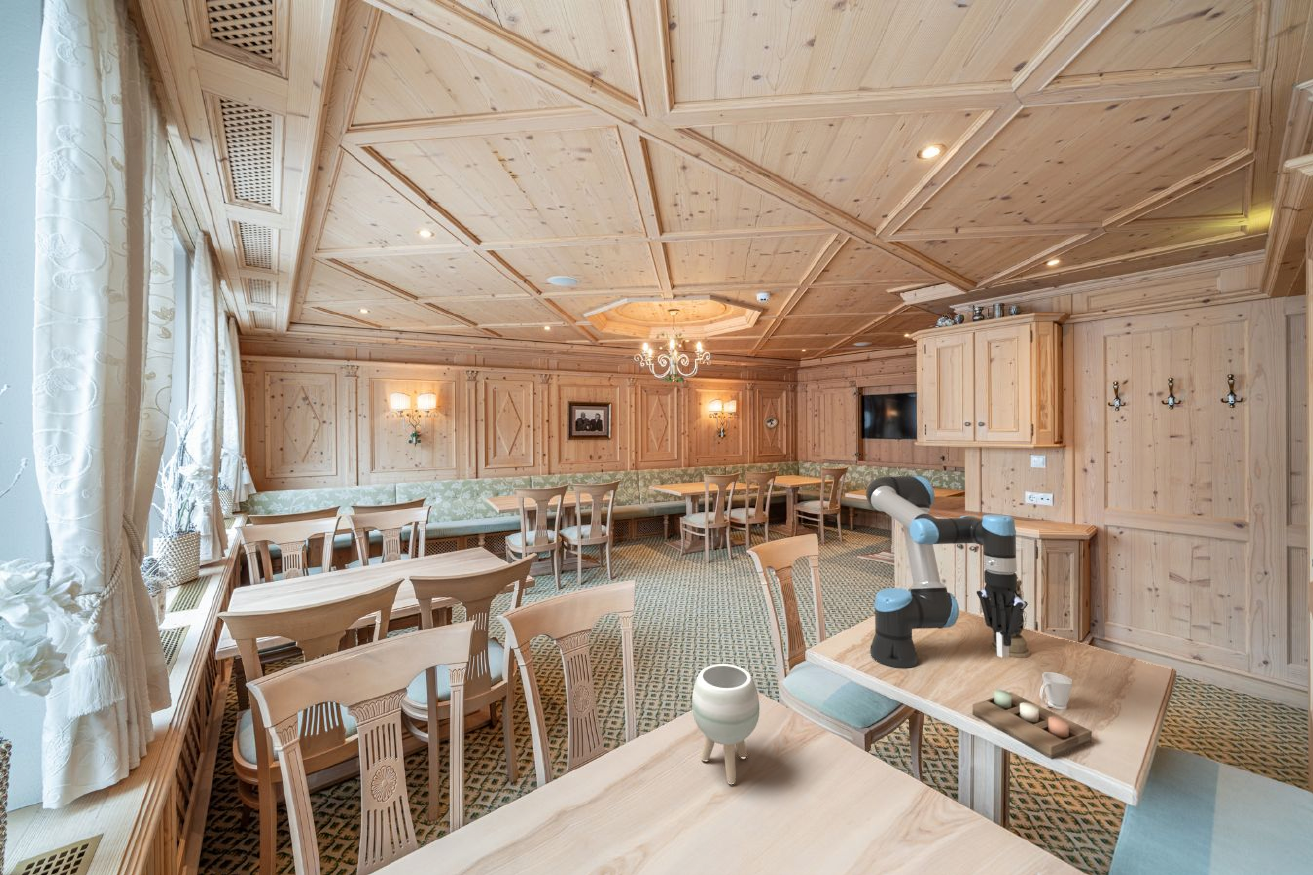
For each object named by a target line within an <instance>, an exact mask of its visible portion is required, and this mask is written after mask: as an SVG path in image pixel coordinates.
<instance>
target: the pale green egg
mask: <svg viewBox="0 0 1313 875" xmlns="http://www.w3.org/2000/svg"><path fill="white" fill-rule="evenodd" d="M993 698H994V703H995V704H996V705H997V706H999V707H1002V708H1011V694H1010V692H1007V691H1005V690H1002V689H995V690H994V691H993Z"/></svg>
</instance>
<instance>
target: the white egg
mask: <svg viewBox="0 0 1313 875" xmlns="http://www.w3.org/2000/svg"><path fill="white" fill-rule="evenodd" d="M1020 717H1021V718H1023V719H1024V720H1026V721H1029V722H1038V721H1039V709H1038V707H1037V706H1035V705H1033V704H1030V703H1020Z"/></svg>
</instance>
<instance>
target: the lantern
mask: <svg viewBox="0 0 1313 875" xmlns="http://www.w3.org/2000/svg"><path fill="white" fill-rule="evenodd" d="M1022 583H1023V581H1022V580H1021V579H1019V577H1018V576H1017V587H1016V591H1017V593H1018V597H1019V598H1020V599H1021V600H1022V601H1024V599H1023V597H1025V596H1024V592H1023V590H1022V588H1021V586H1022ZM1014 603H1015V601H1014V602H1013V603H1012V609H1011V616H1012V612H1013V609H1014V607H1015V606H1014ZM1025 614H1026V615H1025ZM1027 618H1028V613H1027V612H1026V611H1025V610H1024V612H1023V616H1022V620H1021V624H1020V629H1019V633H1016V634H1012V635H1011V646H1009V656H1008V657H1009V658H1014V659H1015V658H1016V659H1027V658H1030V657H1031V655H1032V654H1031V652H1030V650H1029V649H1028V641H1027V640H1026V639H1025V638H1024V636H1023V635H1021V634H1022V633H1023V631H1024V630H1025V628H1026V625H1027V622H1026V621H1027ZM1001 631H1002V630H1001ZM989 647H990V650H992V651H993V652H995V653H997V643H996V642H995V641H994V635H993V638H992V642H991V643H990V644H989Z"/></svg>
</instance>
